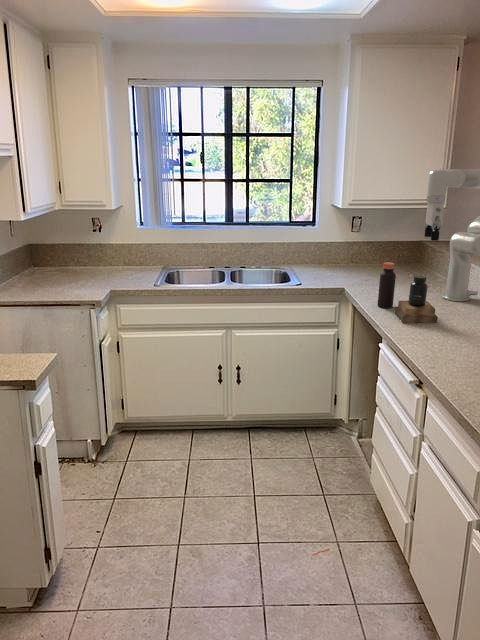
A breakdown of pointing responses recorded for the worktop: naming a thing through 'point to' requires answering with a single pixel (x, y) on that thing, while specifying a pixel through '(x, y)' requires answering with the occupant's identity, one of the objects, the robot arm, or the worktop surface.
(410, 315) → the stepped wooden plinth
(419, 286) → the supplement bottle
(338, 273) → the worktop surface
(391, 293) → the vinegar
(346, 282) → the worktop surface
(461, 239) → the robot arm
